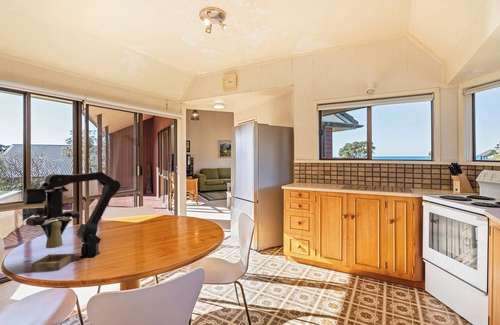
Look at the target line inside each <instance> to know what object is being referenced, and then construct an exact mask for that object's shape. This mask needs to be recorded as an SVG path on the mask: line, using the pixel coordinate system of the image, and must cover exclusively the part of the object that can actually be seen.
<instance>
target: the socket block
mask: <svg viewBox="0 0 500 325" xmlns="http://www.w3.org/2000/svg"><path fill="white" fill-rule="evenodd" d="M74 261H75V253H59V254H58V253H57V254H55V253H54V254H52V253H51V254H50V253H49V254H47V255H45V256H44V257H42V258H40V259H38V260H36V261H34V262H32V263H31V265H30V271H31V272H40V271H42V272H43V271H60V270H61V269H63V268H64V267H66V266H68V265H69V264H70V263H72V262H74Z"/></svg>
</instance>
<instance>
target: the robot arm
mask: <svg viewBox="0 0 500 325" xmlns="http://www.w3.org/2000/svg"><path fill="white" fill-rule="evenodd" d="M90 181H91V182H92V181H97V182H99V184H100V185H102V189H101V194H100V198H99V199H98V202H97V203H96V205H95V206H94V209H93V211H92V213H91V215H90V216H89V218H88V220H87V221H86V222H85V223H81V224H80V226H79V228H78V229H77V230H76V232H77V234H76V236H77V238H78V240H80V241H81V243H82V244H81V248H80V255H81V256H80V255H79V257H80V258H95V257H97V256H98V255H99V254H100V253H101V251H99V250H100V246H99V245H100V242H101V240H102V239H101V238H100V237H99V236H97V233H98V226H99V222H100V220H101V219H102V216H103V215H104V213H105V211H106V209H107V206H108V205H109V203H110V202H111V199H112V198H113V197H114V196H115V195H116V194H118V192H119V190H120V189H121V187H122V185H121V183H120V181H119V180H116V179H115V180H114V178H112V177H110V176H108V175H107V174H105V172H103V171H95V172H87V173H77V174H60V173H57V174H56V173H51V174H47V176H46V177H45V180H44V182H43V183H42V185H40V186H39V187H38V188H25V189H24V190H25V191H24V193H23V196H22V202H23V205H25V206H31V205H39V204H42V205H43V203H44V202H46V204H44V208H41V207H37V208H34V209H33V215H34V216H33V217H28V218H27V219H26V220H25V225H26V226H30V227H37V226H39V227H41V229H42V230H43V232H44V234H45V236H46V239H47V238H48V239H49V238H50V235H51V223H49V222H52V221H60V222H61V223H62V226H61V228H60V230H61V236H62V235H63V233H64V231H65V229H67V228H66V227H67V226H68V225H69V223H70V222H71V221H72V220H73V219H77V218H78V219H79V218H80V212H79V211H78V210H77V211H76V210H68V211H64V212H63V210H64V207H65V206H66V205H65V203H64V200H63V198H64V192H69V189H67V188H66V187H65V186H68V185H71V184H75V183H81V182H90ZM71 218H72V219H71Z"/></svg>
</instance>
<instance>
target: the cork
mask: <svg viewBox="0 0 500 325" xmlns="http://www.w3.org/2000/svg"><path fill="white" fill-rule="evenodd" d="M49 223H51V235H50V238H49V239H48V238H47V237H46V243H45V248H46V249H56V248H60V247H62V246H63V245H64V243H63V238H62V235H61V230H60V228H61V226H62V223H61V222H60V221H58V220H51V221H49Z"/></svg>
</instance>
